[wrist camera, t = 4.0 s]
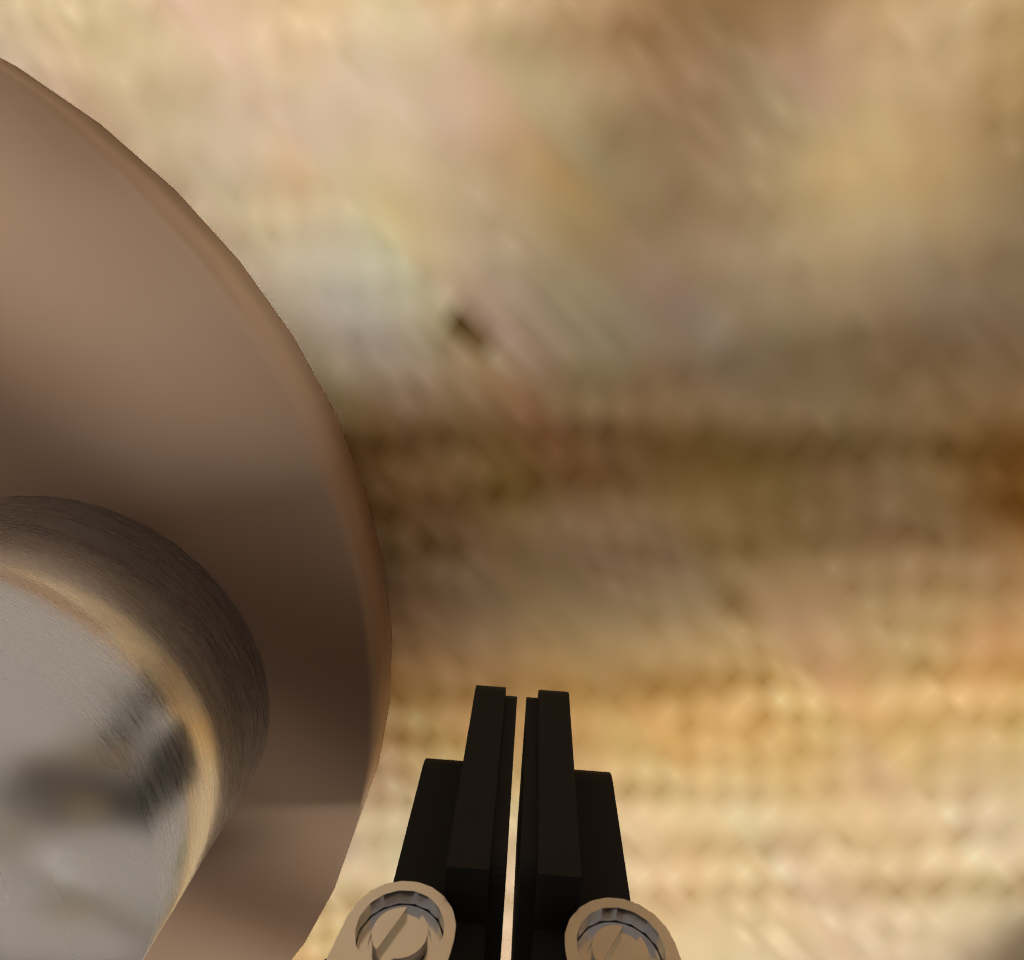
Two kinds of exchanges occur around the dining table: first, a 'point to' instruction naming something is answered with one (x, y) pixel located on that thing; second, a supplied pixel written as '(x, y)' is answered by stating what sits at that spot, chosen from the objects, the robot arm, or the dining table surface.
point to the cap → (112, 727)
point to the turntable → (198, 487)
